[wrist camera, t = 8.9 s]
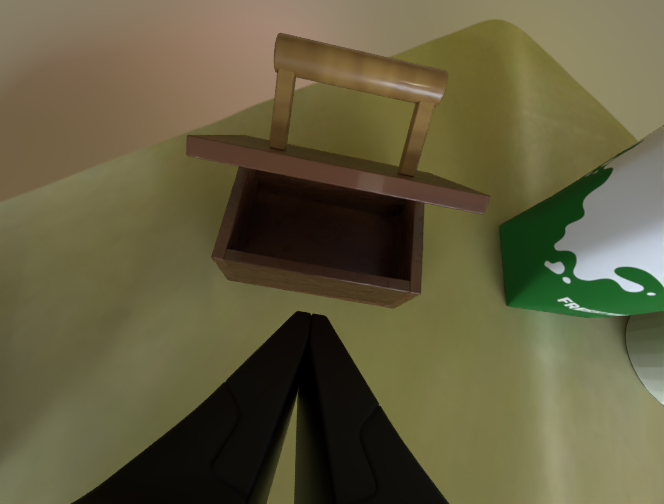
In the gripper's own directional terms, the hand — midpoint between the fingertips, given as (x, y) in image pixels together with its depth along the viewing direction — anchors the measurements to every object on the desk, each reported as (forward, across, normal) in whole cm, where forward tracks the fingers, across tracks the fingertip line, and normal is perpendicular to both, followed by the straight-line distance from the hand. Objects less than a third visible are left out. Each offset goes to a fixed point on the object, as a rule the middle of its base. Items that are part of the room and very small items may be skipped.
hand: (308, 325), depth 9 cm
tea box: (+15, 0, +4) cm, 15 cm away
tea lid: (+10, 0, -3) cm, 10 cm away
